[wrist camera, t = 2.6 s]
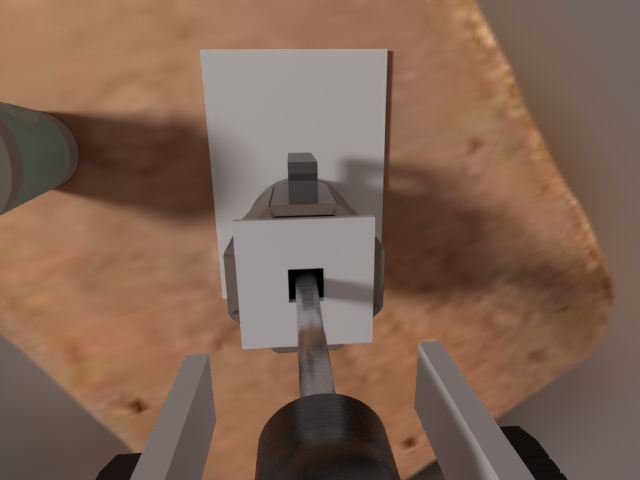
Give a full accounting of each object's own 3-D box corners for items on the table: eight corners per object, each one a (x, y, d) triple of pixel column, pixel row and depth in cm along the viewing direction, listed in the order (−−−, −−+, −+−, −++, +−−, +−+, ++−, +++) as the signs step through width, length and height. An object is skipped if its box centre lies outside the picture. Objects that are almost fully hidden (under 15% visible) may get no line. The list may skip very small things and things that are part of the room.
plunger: (272, 250, 22) (232, 558, 7) (336, 248, 23) (445, 540, 7) (275, 308, 23) (247, 696, 8) (336, 305, 24) (431, 674, 8)
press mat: (201, 50, 29) (199, 49, 29) (385, 50, 30) (387, 48, 30) (223, 296, 35) (222, 298, 35) (378, 289, 36) (379, 291, 36)
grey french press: (241, 150, 31) (213, 165, 20) (353, 148, 32) (390, 161, 20) (250, 281, 34) (230, 360, 23) (352, 277, 35) (383, 351, 24)
